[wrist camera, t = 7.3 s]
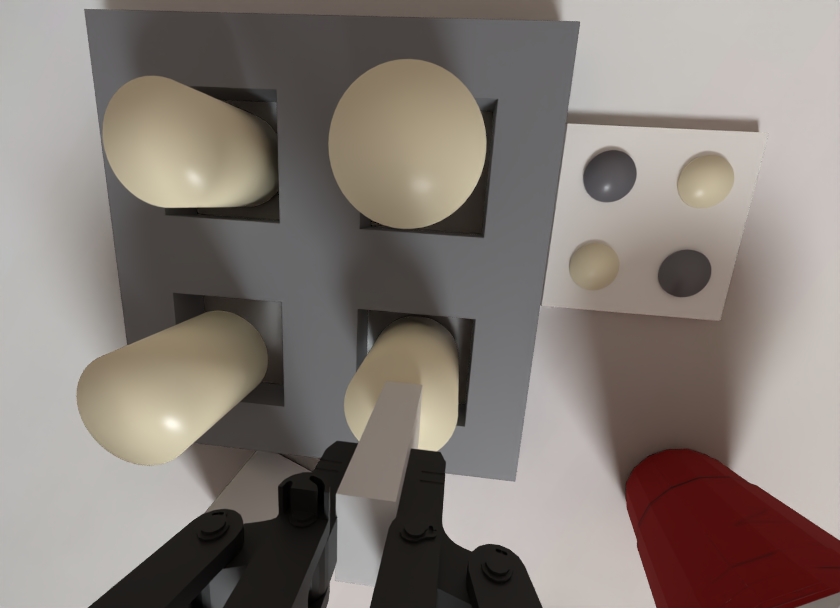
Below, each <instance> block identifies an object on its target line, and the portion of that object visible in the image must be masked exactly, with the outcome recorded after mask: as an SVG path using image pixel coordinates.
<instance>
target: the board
mask: <svg viewBox="0 0 840 608" xmlns="http://www.w3.org/2000/svg"><path fill="white" fill-rule="evenodd" d="M84 11H85V18H86V26H87V34H88V42H89V50H90V57H91V65H92V73H93V81H94V89H95V96H96V104H97V112H98V120H99V128H100V135H101V143H102V151H103V159H104V167H105V174H106V182H107V190H108V198H109V206H110V213H111V221H112V229H113V237H114V245H115V252H116V260H117V268H118V276H119V284H120V292H121V299H122V307H123V315H124V323H125V331H126V338H127V345H129V344H132V343H134V342H137V341H139V340H141V339H144V338H146V337H149V336H151V335H153V334H156V333H158V332H160V331H163V330H165V329H168V328H170V327H172V326H175V325H177V324H179V323H182V322H184V321H187V320H189V319H191V318H194V317H196V316H198V315H201V314H203V313H205V312H204V298H203V295H206V296H217V297H229V298H240V299H252V300H263V301H274V302H282V329H283V368H284V385H279V384H270V383H260V384H259V385H258V386H257V387H256V388H255V389H254V390H252V391H251V392H250V393H249V394H248V395H247V396H246V397H245V398H243V399H242V400H241V401H240V402H239V403H238V404H237V405H236V406H234V407H233V408H232V409H231V410H230V411H229V412H228V413H227V414H225V415H224V416H223V417H222V418H221V419H220V420H219V421H218V422H216V423H215V424H214V425H213V426H212V427H211V428H210V429H209V430H207V431H206V432H205V433H204V434H203V435H202V436H201V437H200V438H198V439H197V440H196V441H195V442H194V443H198V444H207V445H215V446H223V447H232V448H240V449H248V450H256V451H265V452H273V453H281V454H290V455H298V456H306V457H315V458H321V457H322V455H323V453H324V452H325V450H326V449H327V448H328V447H329V446H330V445H332V444H333V443H334V442H336V441H345V442H353V443H359V441H358V439H357V438H356V437H355V436H354V434H353V433H352V431H351V429H350V427H349V425H348V423H347V420H346V417H345V412H344V399H345V394H346V390H347V388H348V385H349V383H350V382H351V380H352V378H353V377H354V375H355V373H356V372H357V370H358V369H359V367H360V366H361V364H362V362H363V361H364V359H365V358H366V356H367V335H368V310H377V311H389V312H400V313H411V314H423V315H434V316H446V317H457V318H469V319H473V326H472V336H471V346H470V356H469V366H468V376H467V386H466V396H465V404H460V403H458V419H457V424H456V427H455V430H454V432H453V434H452V436H451V438H450V439H449V440H448V442H447V443H446V444H445V445H444V446H443V447H442V448H441V449H439V450H438V452H441V454H442V456H443V458H444V460H445V461H446V469H445V473H448V474H456V475H464V476H473V477H481V478H489V479H498V480H506V481H514V482H515V479H516V472H517V465H518V458H519V451H520V444H521V437H522V430H523V423H524V416H525V409H526V402H527V394H528V387H529V380H530V373H531V366H532V359H533V352H534V345H535V338H536V331H537V324H538V317H539V310H540V303H541V296H542V288H543V281H544V274H545V267H546V260H547V253H548V246H549V239H550V232H551V225H552V218H553V211H554V204H555V197H556V190H557V182H558V175H559V168H560V161H561V154H562V147H563V140H564V133H565V126H566V119H567V112H568V105H569V98H570V91H571V84H572V76H573V69H574V62H575V55H576V48H577V41H578V34H579V27H580V22H578V21H538V20H498V19H458V18H419V17H379V16H339V15H299V14H260V13H220V12H180V11H140V10H101V9H84ZM399 59H415V60H423V61H426V62H430V63H433V64H436V65H438V66H440V67H442V68H444V69H446V70H447V71H449V72H451V73H452V74H453V75H454V76H456V77H457V78H458V79H459V80H460V81H461V82H462V83H463V84H464V85H465V86H466V87H467V88H468V90H469V91H470V93H471V94H472V96H473V97H474V99H475V101H476V103H477V105H478V107H479V109H480V111H489V112H494V114H493V124H492V134H491V144H490V154H489V164H488V175H487V185H486V195H485V205H484V215H483V225H482V234H472V233H458V232H443V231H429V230H415V229H400V228H386V227H372V226H371V219H369V218H368V217H366V216H365V215H363V214H362V213H361V212H359V211H358V210H357V209H356V208H355V207H354V206H353V205H352V204H351V203H350V202H349V201H348V199H347V198H346V197H345V196H344V194H343V193H342V191H341V189H340V188H339V186H338V184H337V181H336V179H335V177H334V174H333V171H332V168H331V163H330V158H329V146H328V142H329V131H330V125H331V121H332V118H333V115H334V112H335V109H336V107H337V105H338V103H339V101H340V99H341V98H342V96H343V94H344V93H345V92H346V90H347V89H348V88H349V87H350V85H351V84H352V83H353V82H354V81H355V80H356V79H357V78H359V77H360V76H361V75H362V74H364V73H365V72H367V71H368V70H370V69H372V68H374V67H376V66H377V65H380V64H383V63H386V62H389V61H394V60H399ZM143 76H161V77H165V78H169V79H172V80H174V81H176V82H179V83H181V84H183V85H186V86H188V87H190V88H193V89H195V90H197V91H200V92H202V93H204V94H207V95H209V96H211V97H213V98H216V99H218V100H241V101H263V102H277V130H278V170H279V209H280V220H271V219H257V218H243V217H228V216H214V215H200V214H197V207H188V208H165V207H158V206H155V205H151V204H149V203H147V202H144V201H143V200H141V199H139V198H137V197H136V196H135V195H133V194H132V193H131V192H130V191H129V190H128V189H127V188H125V186H124V185H123V184H122V183H121V182H120V181H119V179H118V178H117V176H116V175H115V173H114V172H113V170H112V168H111V166H110V164H109V161H108V159H107V156H106V153H105V149H104V144H103V133H102V131H103V120H104V115H105V112H106V108H107V106H108V104H109V102H110V100H111V98H112V97H113V95H114V94H115V93H116V92H117V91H118V89H119V88H121V87H122V86H123V85H124V84H126V83H127V82H129V81H131V80H133V79H136V78H138V77H143Z"/></svg>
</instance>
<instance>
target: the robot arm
mask: <svg viewBox="0 0 840 608" xmlns="http://www.w3.org/2000/svg"><path fill="white" fill-rule="evenodd" d="M422 387H423V385H421V384H411V383H402V382H392V381H386V382H385V384H384V386H383V389H382V391H381V393H380V395H379V398H378V400H377V402H376V405H375V407H374V409H373V411H372V414H371V416H370V418H369V420H368V423H367V425H366V427H365V429H364V432H363V434H362V436H361V438H360V441H359V443H353V442H345V441H336V442H334V443H333V444H332V445H330V446H329V447H328V448H327V449H326V450H325V452H324V453H323V455H322V457H321V459H320V461H319V462H318V464H317V466H316V467H315V470H314V471H313V472H302V473H298V474H294V475H292V476H290V477H288V478H286V479H284V480H283V481H282V482H281V483H280V484H279V485H278V507H279V514H278V516H277V517H276V518H273V519H271V520H266V521H260V522H252V523H245V524H243V519H242V516H241V514H239V513H238V512H236V511H235V510H231V509H217V510H213V511H210V512H207V513H204V514H202V515H201V516H199V517H198V518H196V519H194V520H193V521H192V522H191V523H189V524H188V525H187V526H186V527H184V528H183V529H182V530H181V531H180V532H178V533H177V534H176V535H175V536H174V537H172V538H171V539H170V540H169V541H168V542H166V543H165V544H164V545H163V546H162V547H160V548H159V549H158V550H157V551H156V552H154V553H153V554H152V555H151V556H150V557H148V558H147V559H146V560H145V561H144V562H142V563H141V564H140V565H139V566H138V567H136V568H135V569H134V570H133V571H132V572H130V573H129V574H128V575H127V576H125V577H124V578H123V579H122V580H121V581H119V582H118V583H117V584H116V585H115V586H113V587H112V588H111V589H110V590H109V591H107V592H106V593H105V594H104V595H103V596H101V597H100V598H99V599H98V600H97V601H95V602H94V603H93V604H92V605H91V606H89V607H88V608H326V607H327V604H328V600H329V592H330V580H331V577H332V574H333V571H334V569H335V581H340V582H346V583H353V584H360V585H366V586H373V587H375V588H374V592H373V597H372V601H371V605H370V608H542V605H541V603H540V601H539V598H538V596H537V594H536V591H535V589H534V587H533V584H532V582H531V580H530V577H529V575H528V573H527V570H526V568H525V566H524V564H523V563H522V561H521V560H520V558H519V557H518V556H517V555H516V554H515V553H513V552H512V551H511V550H510V549H507V548H505V547H503V546H500V545H494V544H486V545H482V546H479V547H477V548H476V549H475V550H474V551H472V552H471V551H469V550H467V549H464V548H462V547H461V546H459V545H457V544H455V543H454V542H453V541H452V540H451V539H450V538H449V537H448V536H447V534H446V533H445V531H444V529H443V526H442V512H443V498H444V484H445V469H446V461H445V460H444V458H443V456H442V454H441V452H438V451H429V450H421V449H418V444H419V430H420V416H421V401H422Z"/></svg>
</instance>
